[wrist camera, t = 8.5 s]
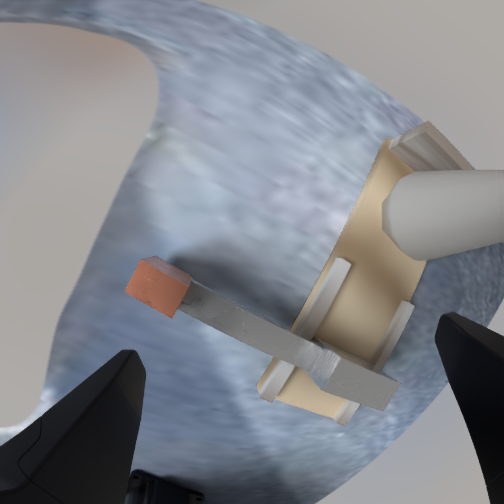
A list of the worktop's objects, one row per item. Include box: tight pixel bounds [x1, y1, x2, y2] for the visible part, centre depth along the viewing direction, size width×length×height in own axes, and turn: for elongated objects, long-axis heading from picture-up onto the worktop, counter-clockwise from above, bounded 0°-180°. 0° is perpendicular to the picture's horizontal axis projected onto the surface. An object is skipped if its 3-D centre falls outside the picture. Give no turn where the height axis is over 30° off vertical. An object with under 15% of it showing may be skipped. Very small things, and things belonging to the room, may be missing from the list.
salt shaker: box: [382, 170, 504, 261], centre depth 13 cm, size 6×6×13 cm
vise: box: [256, 121, 475, 426], centre depth 17 cm, size 20×7×5 cm, turn 151°
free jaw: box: [125, 256, 401, 411], centre depth 15 cm, size 2×16×4 cm, turn 61°
